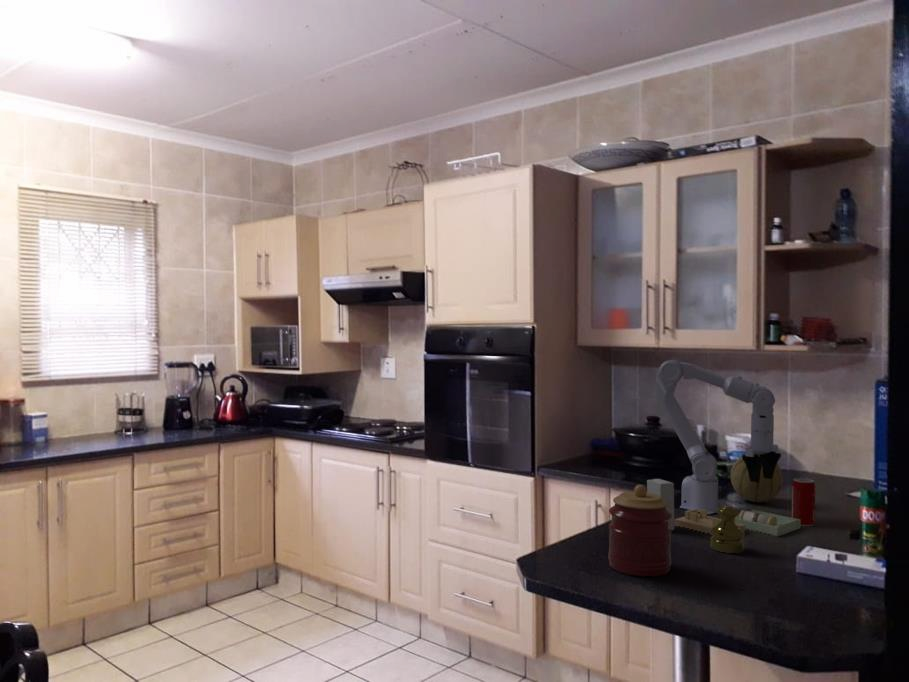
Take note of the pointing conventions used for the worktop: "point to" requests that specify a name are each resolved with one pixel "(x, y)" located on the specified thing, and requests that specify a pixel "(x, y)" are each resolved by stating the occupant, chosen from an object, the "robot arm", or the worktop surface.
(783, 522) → the parts tray
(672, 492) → the skincare box
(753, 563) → the worktop surface
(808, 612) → the worktop surface
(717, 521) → the fuse holder
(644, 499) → the canister
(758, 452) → the robot arm
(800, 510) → the soda can
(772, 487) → the ribbed pale melon
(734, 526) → the gold tiered figurine
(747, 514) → the fuse
